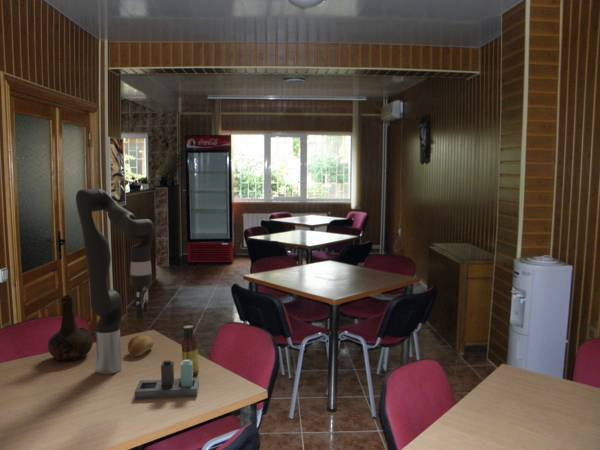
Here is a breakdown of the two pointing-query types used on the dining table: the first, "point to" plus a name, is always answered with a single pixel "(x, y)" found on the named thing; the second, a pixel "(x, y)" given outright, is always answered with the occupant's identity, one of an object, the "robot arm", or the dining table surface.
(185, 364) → the plug
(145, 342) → the bread roll
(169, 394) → the gray slotted rack
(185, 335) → the sauce bottle
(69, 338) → the glass bottle
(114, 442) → the dining table surface
